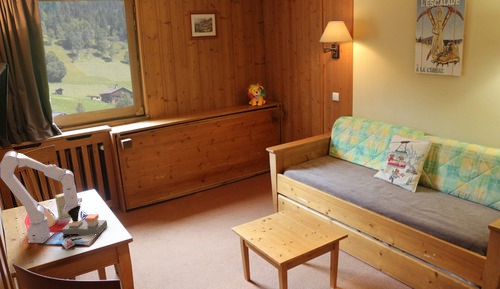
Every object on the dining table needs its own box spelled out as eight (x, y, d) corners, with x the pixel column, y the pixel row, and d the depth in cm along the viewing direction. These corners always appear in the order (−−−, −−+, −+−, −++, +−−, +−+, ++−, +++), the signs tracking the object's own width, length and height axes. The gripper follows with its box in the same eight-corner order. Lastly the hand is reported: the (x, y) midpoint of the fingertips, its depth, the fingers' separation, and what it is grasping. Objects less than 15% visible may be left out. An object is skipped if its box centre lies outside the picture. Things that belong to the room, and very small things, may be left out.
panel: (97, 235, 205) (96, 229, 204) (63, 234, 207) (62, 229, 206) (107, 225, 214) (106, 220, 213) (74, 225, 217) (73, 219, 216)
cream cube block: (78, 231, 209) (77, 223, 207) (70, 231, 209) (68, 222, 208) (83, 227, 213) (82, 218, 212) (75, 227, 214) (73, 218, 212)
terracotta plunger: (95, 227, 207) (93, 218, 205) (86, 227, 207) (84, 218, 206) (99, 222, 211) (98, 214, 210) (91, 222, 212) (89, 214, 210)
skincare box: (61, 219, 225) (56, 197, 222) (58, 216, 228) (54, 195, 225) (73, 215, 229) (69, 193, 226) (70, 212, 232) (66, 191, 229)
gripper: (70, 201, 199) (75, 227, 202) (85, 189, 213) (90, 214, 216) (56, 201, 200) (61, 227, 204) (72, 189, 214) (77, 214, 217)
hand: (75, 221), depth 210 cm, fingers closed, pressing on cream cube block
